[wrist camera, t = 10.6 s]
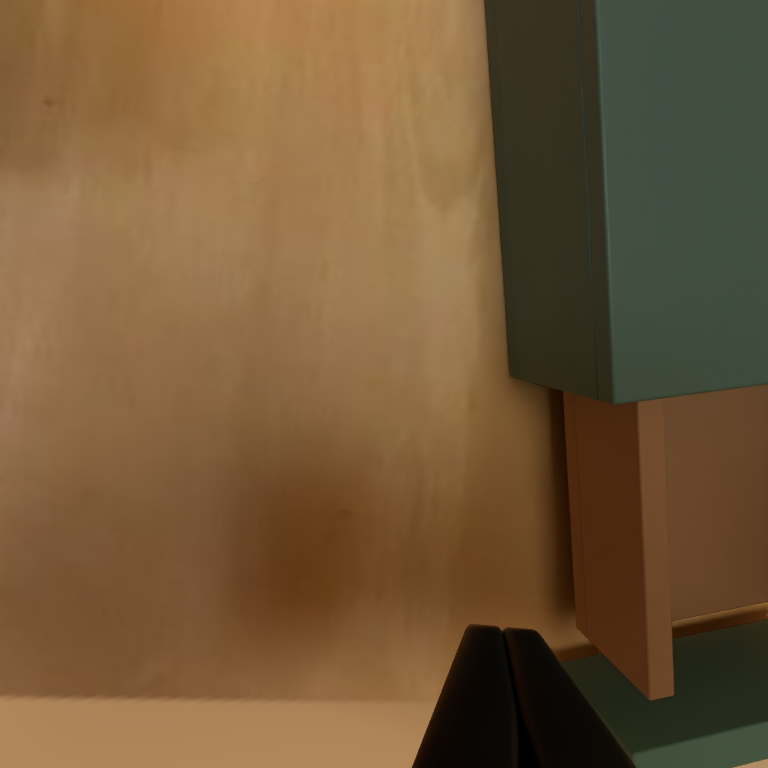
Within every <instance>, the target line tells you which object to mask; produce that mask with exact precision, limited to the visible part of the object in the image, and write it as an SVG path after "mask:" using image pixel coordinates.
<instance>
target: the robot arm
mask: <svg viewBox="0 0 768 768" xmlns="http://www.w3.org/2000/svg"><path fill="white" fill-rule="evenodd" d="M412 768H637V767H636V766H635V765H634V763H633V762H632V760H631V759H630V758H629V756H628V755H627V754H626V752H625V751H624V749H623V748H622V747H621V745H620V744H619V743H618V741H617V740H616V738H615V737H614V736H613V734H612V733H611V732H610V730H609V729H608V727H607V726H606V725H605V723H604V722H603V720H602V719H601V718H600V716H599V715H598V714H597V712H596V711H595V709H594V708H593V707H592V705H591V704H590V703H589V701H588V700H587V698H586V697H585V696H584V694H583V693H582V692H581V690H580V689H579V687H578V686H577V685H576V683H575V682H574V681H573V679H572V678H571V676H570V675H569V674H568V672H567V671H566V670H565V668H564V667H563V665H562V664H561V663H560V661H559V660H558V659H557V657H556V656H555V654H554V653H553V652H552V650H551V649H550V648H549V646H548V645H547V643H546V642H545V641H544V639H543V638H542V636H541V635H540V634H539V633H538V632H537V631H535V630H532V629H521V628H510V627H507V628H505V629H503V630H502V631H501V629H500V628H499V627H497V626H488V625H477V624H470V625H468V626H467V628H466V630H465V632H464V635H463V637H462V640H461V642H460V645H459V647H458V650H457V653H456V655H455V658H454V660H453V663H452V666H451V668H450V671H449V673H448V676H447V678H446V681H445V684H444V686H443V689H442V691H441V694H440V696H439V699H438V702H437V704H436V707H435V709H434V712H433V714H432V717H431V720H430V722H429V725H428V727H427V730H426V732H425V735H424V738H423V740H422V743H421V745H420V748H419V750H418V753H417V756H416V758H415V761H414V763H413V766H412Z"/></svg>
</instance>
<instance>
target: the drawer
mask: <svg viewBox="0 0 768 768" xmlns="http://www.w3.org/2000/svg"><path fill="white" fill-rule="evenodd" d="M563 401H564V418H565V436H566V453H567V471H568V489H569V506H570V524H571V541H572V559H573V577H574V594H575V612H576V627H577V628H578V629H579V630H580V631H581V632H582V633H583V634H584V635H585V636H586V637H587V638H588V639H589V641H590V642H591V643H592V644H593V645H594V646H595V647H596V648H597V649H598V650H599V651H600V652H602V653H603V654H599V655H594V656H589V657H584V658H580V659H575V660H570V661H565V662H560V663H561V664H562V665H563V667H564V668H565V670H566V671H567V672H568V674H569V675H570V676H571V678H572V679H573V681H574V682H575V683H576V685H577V686H578V687H579V689H580V690H581V692H582V693H583V694H584V696H585V697H586V698H587V700H588V701H589V703H590V704H591V705H592V707H593V708H594V709H595V711H596V712H597V714H598V715H599V716H600V718H601V719H602V720H603V722H604V723H605V725H606V726H607V727H608V729H609V730H610V732H611V733H612V734H613V736H614V737H615V738H616V740H617V741H618V743H619V744H620V745H621V747H622V748H623V749H624V751H625V752H626V754H627V755H628V756H629V758H630V759H631V760H632V762H633V763H634V765H635V766H636V767H637V768H732V767H737V766H741V765H745V764H748V763H752V762H756V761H760V760H764V759H768V619H766V620H761V621H756V622H752V623H747V624H742V625H737V626H733V627H728V628H723V629H718V630H713V631H709V632H704V633H699V634H694V635H690V636H685V637H680V638H675V639H672V621H675V620H680V619H685V618H690V617H695V616H699V615H704V614H709V613H714V612H719V611H724V610H729V609H734V608H739V607H744V606H749V605H754V604H758V603H763V602H768V384H766V385H759V386H751V387H744V388H736V389H729V390H722V391H714V392H707V393H699V394H692V395H684V396H677V397H670V398H662V399H655V400H647V401H640V402H632V403H625V404H618V405H614V404H611V403H607V402H603V401H600V400H599V401H597V400H594V399H590V398H586V397H583V396H579V395H576V394H572V393H568V392H565V391H563Z"/></svg>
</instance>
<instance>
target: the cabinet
mask: <svg viewBox="0 0 768 768" xmlns="http://www.w3.org/2000/svg"><path fill="white" fill-rule="evenodd" d="M485 13H486V28H487V43H488V57H489V72H490V87H491V102H492V116H493V131H494V146H495V160H496V175H497V190H498V205H499V219H500V234H501V249H502V264H503V278H504V293H505V308H506V323H507V337H508V352H509V367H510V376H511V377H515V378H519V379H521V380H525V381H528V382H532V383H535V384H539V385H543V386H546V387H550V388H554V389H557V390H561V391H565V392H568V393H572V394H576V395H579V396H583V397H586V398H590V399H594V400H597V401H599V400H600V401H603V402H607V403H611V404H614V405H618V404H625V403H632V402H640V401H647V400H655V399H662V398H670V397H677V396H684V395H692V394H699V393H707V392H714V391H722V390H729V389H736V388H744V387H751V386H759V385H766V384H768V0H485Z"/></svg>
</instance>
